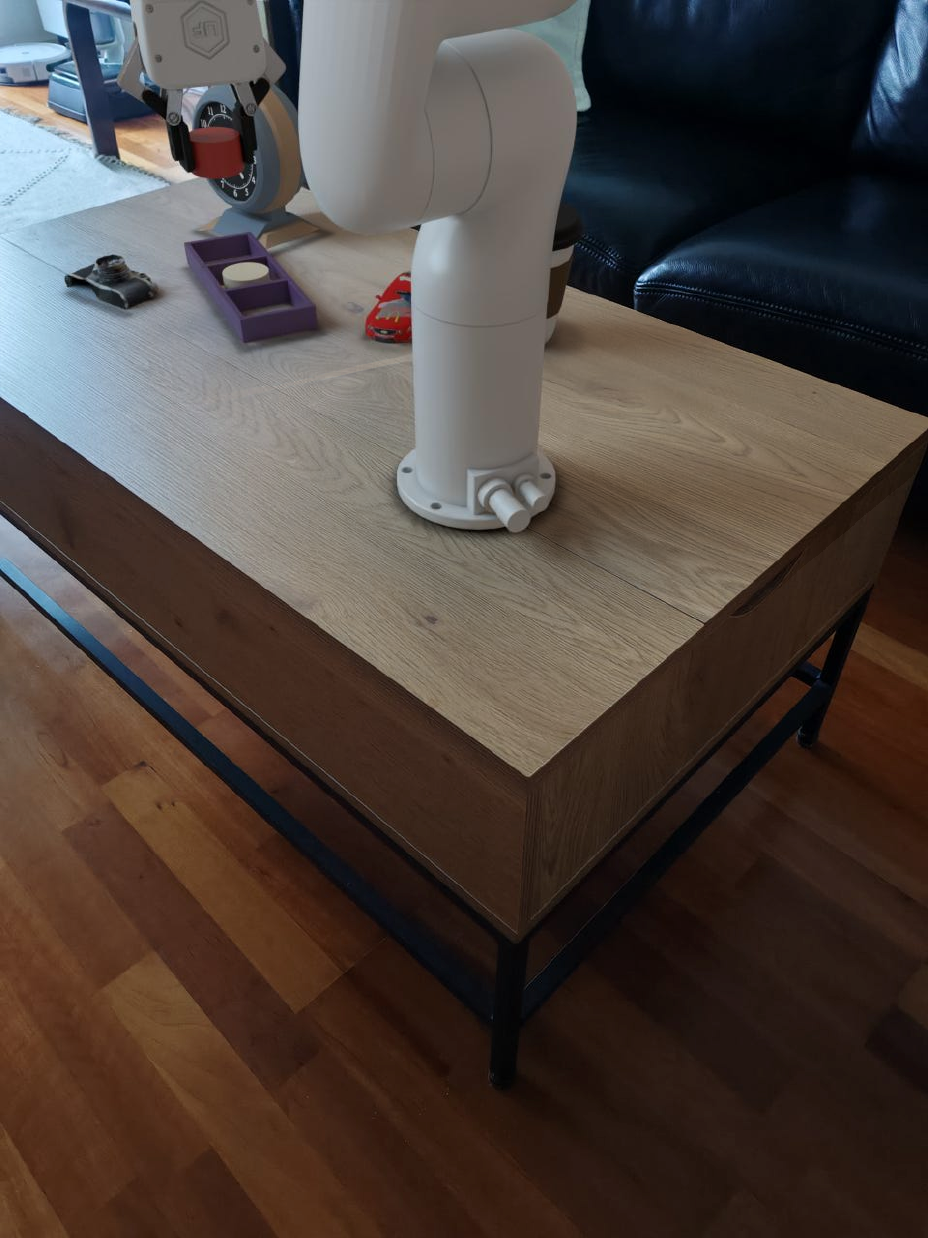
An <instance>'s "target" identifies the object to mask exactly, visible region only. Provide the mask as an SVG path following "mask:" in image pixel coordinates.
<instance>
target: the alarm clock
mask: <svg viewBox="0 0 928 1238" xmlns="http://www.w3.org/2000/svg"><path fill="white" fill-rule="evenodd" d="M248 82H250V81H248ZM234 104H235V100H234V97H233V94H232V92H231V89H230V87H229V84H224V85H215V86H209V89H207V90H205V92H203V94H202V95H201V96H200V98H199V100H198V101H197V103H196V104H195V108H194V111H193V114H192V124H191V131H193V130H196V129H200V128H207V127H225V128H231V129H233V122H232V115H231V112H232V111H233V109H234V108H235V106H234ZM254 122H255V130H256V139H257V151H253V156H254V164H249V165H248V164H247V163H245V162H244V161H243V163H244V170H243V172H241V173H240V174H238V175H235V176H232V177H227V178H216V179H212V178H205V179H206V181H207V183H208V184H209V186H210V187H211V189H212V190H213V192H214V193H215V194H216V195H217V196H218V197H219V198H220V199H221V200H222V201H223V202H224V203H225V204H226V205H229V206H231V207H229V208H227V209H225V210H224V211H223V213H222V214H221V215H220V216H218V217H216V218H214V219H213V220H212V221H210V222H208V223H206V224H205V225H203V226H202V227H201V228H199V229H197V232H205V231H210V230H211V233H214V234H216V235H220V236H221V237H222V236H228V235H234V234H240V233H246V232H251V233H252V234H253V235H254V236H255V237H256V239H257V240H258V241H259V242H260V243H261V244H262V245H263V246H264V248H265V249H266V250H268V249H270V248H274V247H277V246H279V245H281V244H284V243H288V242H289V241H292V240H295V239H297V238H300V237H303V236H305V235H308V234H310V233H313V232H315V231H319V230H320V228H318V227H316V226H314V225H312V222H309V221H307V220H306V219H304V218H303V217H300V216H299V215H297V214H295V213H293V212H290V211H287V208H286V206H287V205H288V204H290V202H292V200H293V199H294V197H295V196H296V195H297V194H298V193H300V191H301V189H302V186H303V184H304V182H305V180H306V177H305V173H304V169H303V164H302V159H301V153H300V143H299V129H298V110H297V109H296V107H295V105H294V103H293V102H292V101H291V100H290V99H289V97H288V96H287V95H286V93H285V92H283V91H282V90H281V89H280V88H279V87H277V86H276V85H275V84H274V85H272V86H271V87H270V90H269V92H268V93H267V95H266V96H265V97H264V99H263V100H262V102H261V103H260V105H259V106H258V111H257V113H256V115H254Z"/></svg>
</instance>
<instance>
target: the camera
mask: <svg viewBox="0 0 928 1238" xmlns="http://www.w3.org/2000/svg"><path fill="white" fill-rule="evenodd" d="M63 279H64V283H65V285H66V288H69V287H71V286H73V285H76V284H78V283H81V282H83V281H86V282H87V283H88V284H89V286H90V287H91V290H92V291H93V293H94V295H95V298H97V299H98V300H99V301H101V302H103V303H106V304H108V305H111V306H113V307H116V308H119V309H121V310H128V309H130V308H132V307H135V306H137V305H139V304H142V303H144V302H146V301H149V300H151V299H153V298H155V297H156V292H157V291H158V290H159V287H158V284H157V283H156V282H152V279H151V277H150V276H149V275H148V274H146V273H145V272H139V271H137V270H134V269H130V267H128V265H127V264H126V261H125V258H124V257H123V256H122V255H117V254H114V253H112V254H109V255H103V256H101V257H98V258H97V259H96V260H95V262H94V263H92V264H90V265H88V266H86V267H83V268H80V269H78V270H76V271H74V272H69V273H68V274H65V275H64V277H63Z"/></svg>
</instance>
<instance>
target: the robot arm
mask: <svg viewBox="0 0 928 1238" xmlns="http://www.w3.org/2000/svg"><path fill="white" fill-rule="evenodd" d="M576 2H578V0H303V7H302V8H303V11H302V26H301V28H302V29H301V45H300V46H301V48H300V64H299V65H300V66H299V83H298V87H299V88H298V105H297V106H298V107H297V108H298V109H297V113H298V129H299V143H300V153H301V159H302V164H303V169H304V173H305V177H306V178H305V180H306V182H307V183H306V184H307V185H308V188H309V191H310V193H311V196H312V197H313V199H314V201H315V203H316V205H317V206H318V208H319V209H320V210H321V212H322V213H323V214H324V216H325V217H326V218H328V220H329V221H330V222H332V223H333V224H334V225H336V226H337V227H339V228H340V229H342V230H345V231H347V232H349V233H353V234H357V235H363V236H376V235H383V234H384V235H385V234H389V233H394V232H398V231H401V230H406V229H411V228H413V227H417V226H420V228H419V230H418V234H417V238H416V240H415V245H414V249H413V253H412V260H411V267H410V268H411V269H410V271H411V316H412V340H411V345H412V347H411V349H412V373H413V374H412V375H413V377H412V378H413V407H414V408H413V409H414V411H413V412H414V437H415V438H414V439H415V440H414V441H415V447H414V448H413V449H411V450H410V451H409V452H408V453H407V454H406V455H405V456H404V457H403V458H402V460H401V462H400V463H399V465H398V467H397V471H396V486H397V490H398V495H399V497H400V498H401V500H402V502H403V503H404V504H405V505H406V506H407V507H408V508H409V509H410V510H411V511H412V512H414V513H415V514H417V515H418V516H420V517H421V518H424V519H426V520H428V521H430V522H432V523H434V524H437V525H442V526H445V527H448V528H454V529H461V530H472V531H473V530H476V531H481V530H482V531H483V530H495V529H500V528H505V527H506V529H507V530H508V531H509V532H510V533H514V534H515V533H516V534H517V533H520V532H522V531H523V530H525V529H526V528H527V527H528V526H529V524H530V522H531V519H532V518H533V517H535V516H537V515H538V514H539V513H541V512H543V511H546V509H547V508H548V507H549V505H550V502H551V501H552V499H553V496H554V494H555V488H556V479H557V478H556V471H555V469H554V466H553V463H552V461H550V459H549V458H548V457H547V456H546V454H544V453H543V452H542V451H540V450H539V435H540V421H541V420H540V419H541V405H542V389H543V374H544V361H545V360H544V359H545V358H544V357H545V345H546V343H545V331H546V316H547V303H548V296H549V282H550V268H551V257H552V247H553V240H554V232H555V225H556V220H557V214H558V209H559V205H560V202H561V200H562V196H563V192H564V187H565V184H566V180H567V177H568V173H569V170H570V165H571V160H572V156H573V151H574V147H575V141H576V135H577V124H578V111H577V110H578V108H577V107H578V106H577V98H576V97H577V96H576V92H575V88H574V87H575V86H574V84H573V80H572V76H571V75H570V73H569V70H568V68H567V66H566V64H565V62H564V61H563V59H562V57H560V55H559V54H558V53H557V51H556V50H555V49H554V48H552V46H551V45H550V44H549V43H547V42H546V41H544V40H543V39H541V38H540V37H539V36H537V35H535V34H532V33H530V32H526V31H522V30H520V29H515V28H516V27H521V26H522V27H523V26H526V25H530V24H535V23H539V22H542V21H546V20H549V19H552V18H554V17H557V16H558V15H561V14H562V13H564V12H566V11H567V10H569V9H570V8H571V7H572V6H573V5H575V4H576ZM129 5H130V6H129V7H130V14H131V24H132V31H133V39H134V40H133V42H132V45H131V46H130V49H129V51H128V53H127V55H126V57H125V59H124V62H123V64H122V66H121V67H120V70H119V71H118V74H117V76H116V83H117V85H118V86H119V88H120V89H122V90H123V91H125V92H126V93H127V94H129V95H131V96H132V97H133V98H135V99H137V100H138V101H140V102H142V103H143V104H145V105H146V106H147V107H149V108H150V109H151V110H152V111H154V113H156V114H157V115H158V116H160V117H161V118H162V119H163V120H165V126H166V132H167V137H168V143H169V149H170V154H171V158H172V159H173V161H174V162H178V163H179V165H180V166H181V168H182V169H183V170H184V171H185V172H186V173H187V174H190V173H191V174H192V172H193V171H194V170H195V165H194V159H193V152H192V146H191V140H190V134H189V132H190V129H189V126H188V124H187V123H186V122H185V121H184V116H183V115H182V110H183V109H182V108H183V96H184V90H185V89H186V90H187V89H195V88H204V87H211V86H215V85H224V84H229V87H230V89H231V92H232V94H233V97H234V100H235V104H234V106H235V108H234V109H233V111H232V112H231V115H232V122H233V129H234V130H236V131H238V132H239V134H240V140H241V148H242V156H243V161H244V162H245V163H247V164H248V165H249V164H254V156H253V151H257V139H256V130H255V122H254V115H256V113H257V111H258V106H259V105H260V103H261V102H262V100H263V99H264V97H265V96H266V95H267V93H268V92H269V90H270V87H271V86H272V85H275V84H276V83H277V81H278V80H279V79H280V78H281V77H282V76H283V75H284V74H285V72H286V70H287V65H286V63H285V62H284V61H283V59H282V58H281V57H280V56H279V55H278V53H277V52H276V51H275V50H274V49H273V47H272V46H271V45H270V44H269V43H268V41H267V39H265V38H264V33H263V30H262V23H261V17H260V13H259V6H258V2H257V0H129ZM142 73H143V74H144V75H146V76H147V77H148V79H149V81H151V82H152V84H154V85H155V86H157V87H159V94H158V93H157V92H156V91H155V90H153V89H152V88H151V87H149V86H147V85H145V84H144V83H143V82H142V81H141V79H140V77H141V75H142ZM248 81H250V82H248Z"/></svg>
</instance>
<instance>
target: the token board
mask: <svg viewBox="0 0 928 1238" xmlns="http://www.w3.org/2000/svg"><path fill="white" fill-rule="evenodd" d="M183 246H184V252H185V258H186V264H187V265H188V266H189V268H190V269H191V271H192V272H193V274H194V275H195V276H196V278H197V280H198V281H199V282H200V283H201V285H202V286H203V288H204V289H205V291H206V292H207V294H208V295H209V296H210V298H211V299H212V301H213V302H214V303H215V305H216V307H217V308H218V309H219V311H220V312H221V313H222V315H223V316H224V318H225V319H226V320H227V322H228V323H229V325H230V326H231V327H232V329H233V331H234V332H235V334H236V335H237V336H238V338H239V339H240V341H241V342H242V343H243V344H246V343H251V342H255V341H259V340H260V341H261V340H266V339H270V338H276V337H281V336H286V335H291V334H295V333H300V332H306V331H310V330H316V329H319V326H318V315H317V306H316V304H315V303H314V302H313V301H312V300H311V299H310V297H309V296H308V295H307V294H306V293H305V292H304V291H303V290H302V288H301V287H300V286H299V285H298V284H297V283H296V282H295V280H294V279H293V278H292V277H291V276H290V275H289V274H288V272H287V271H286V270H285V269H284V268H283V266H281V264H280V263H279V262H278V261H277V260H276V259H275V258H274V256H273V255H272V254H271V253H270V252H269V251H268V249H265V248H264V246H263V245H262V244H261V243H260V242H259V241H258V240H257V239H256V237H255V236H254V235H253V234H252V233H251V232H246V233H240V234H234V235H228V236H222V235H221V236H215V237H210V238H204V239H198V240H191V241H185V242H183ZM244 256H245V257H244ZM246 256H247V257H246ZM227 259H229V260H227ZM222 260H223V261H222ZM216 261H218V262H216ZM210 262H211V263H210ZM246 262H252V263H259V264H263V265H265V266H267V267H268V269H269V275H270V281H267V282H262V283H256V284H251V285H245V286H240V287H234V288H229V289H225V286H224V280H223V274H222V273H223V270H224V269H225V268H227V267H228V266H231V265H234V264H238V263H246ZM287 303H290V304H291V305H292V307H288V308H284V309H283V308H282V309H277V310H272V311H267V312H262V313H257V314H253V315H247V316H244V315H243V313H242V312H244V311H245V312H246V311H250V310H255V309H261V308H265V307H270V306H275V305H281V304H287Z"/></svg>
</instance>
